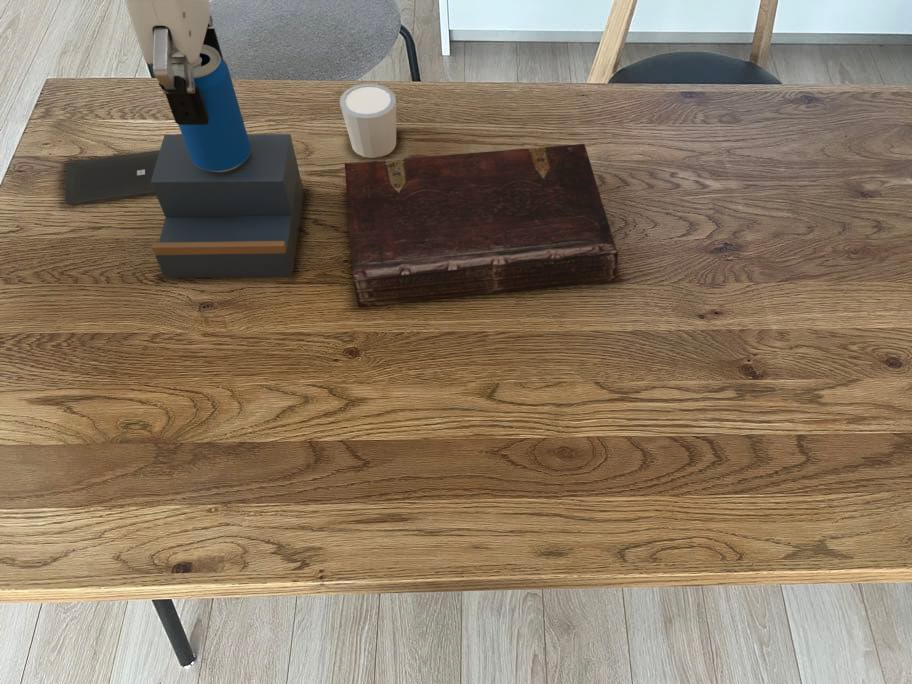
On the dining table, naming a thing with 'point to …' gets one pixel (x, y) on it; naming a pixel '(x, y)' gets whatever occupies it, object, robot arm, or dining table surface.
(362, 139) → the white cylinder
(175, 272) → the step shelf
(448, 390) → the dining table surface
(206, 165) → the beverage can
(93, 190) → the smartphone
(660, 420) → the dining table surface
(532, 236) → the hardback book
